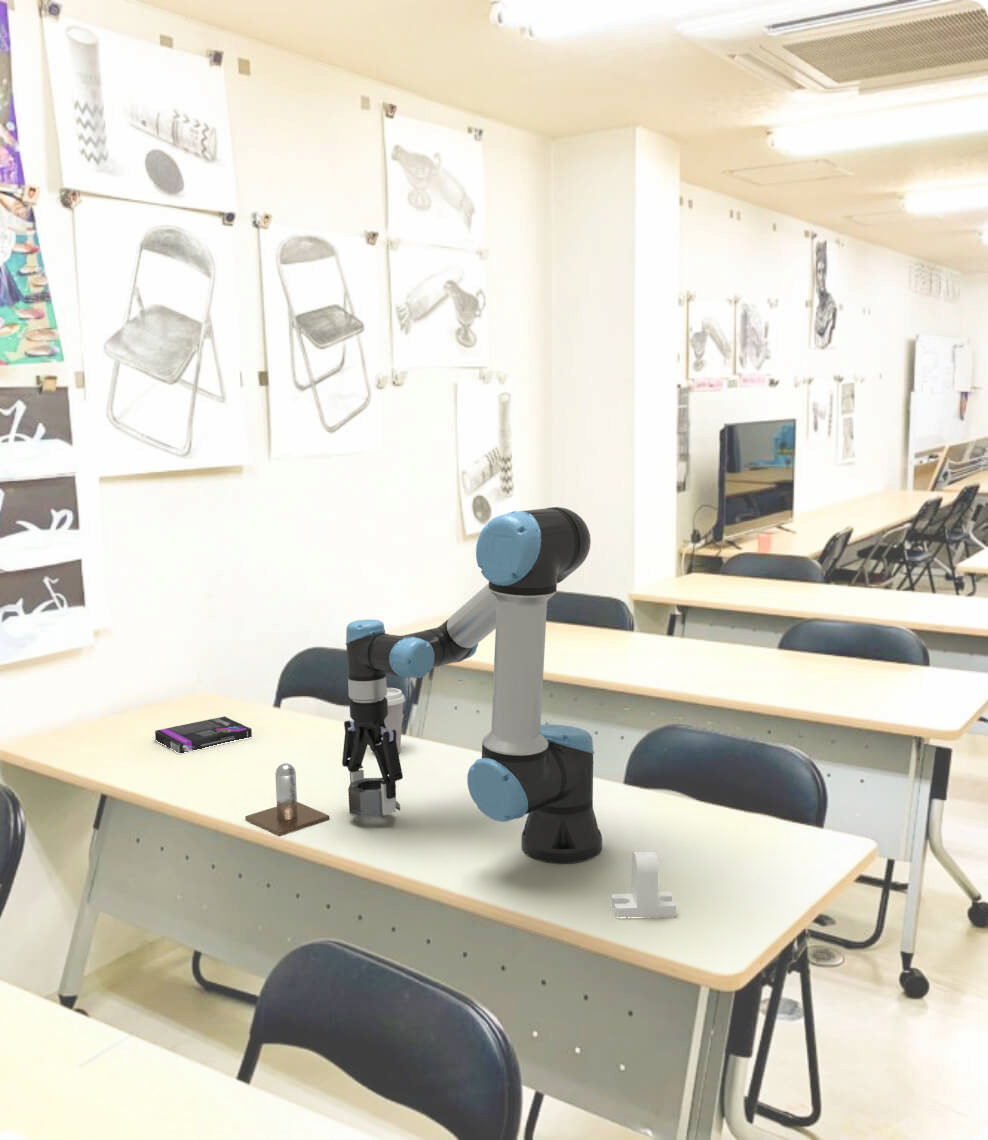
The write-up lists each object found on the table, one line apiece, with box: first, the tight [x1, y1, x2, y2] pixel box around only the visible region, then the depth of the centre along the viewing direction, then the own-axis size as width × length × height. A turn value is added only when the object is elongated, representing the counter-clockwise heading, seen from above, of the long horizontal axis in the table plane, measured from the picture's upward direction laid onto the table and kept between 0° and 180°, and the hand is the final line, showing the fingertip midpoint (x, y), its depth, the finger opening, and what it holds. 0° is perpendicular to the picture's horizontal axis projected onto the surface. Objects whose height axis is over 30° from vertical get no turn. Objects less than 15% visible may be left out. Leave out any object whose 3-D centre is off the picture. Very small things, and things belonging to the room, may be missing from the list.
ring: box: [347, 777, 397, 818], centre depth 222 cm, size 9×9×5 cm
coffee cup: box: [372, 687, 406, 756], centre depth 264 cm, size 10×10×15 cm
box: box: [154, 716, 253, 754], centre depth 277 cm, size 14×4×20 cm
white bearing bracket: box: [610, 851, 677, 918], centre depth 182 cm, size 5×10×10 cm, turn 93°
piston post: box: [244, 763, 331, 837], centre depth 223 cm, size 12×12×12 cm
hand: (373, 807), depth 223 cm, fingers closed on ring, 9 cm apart
